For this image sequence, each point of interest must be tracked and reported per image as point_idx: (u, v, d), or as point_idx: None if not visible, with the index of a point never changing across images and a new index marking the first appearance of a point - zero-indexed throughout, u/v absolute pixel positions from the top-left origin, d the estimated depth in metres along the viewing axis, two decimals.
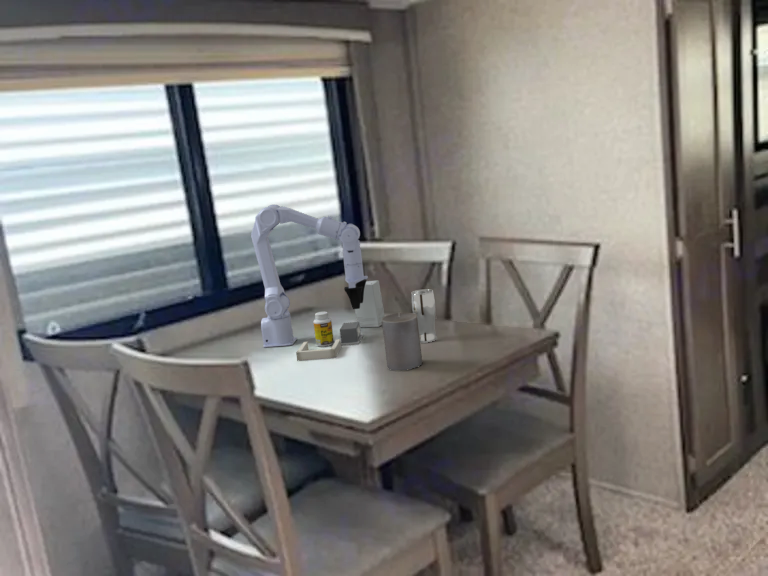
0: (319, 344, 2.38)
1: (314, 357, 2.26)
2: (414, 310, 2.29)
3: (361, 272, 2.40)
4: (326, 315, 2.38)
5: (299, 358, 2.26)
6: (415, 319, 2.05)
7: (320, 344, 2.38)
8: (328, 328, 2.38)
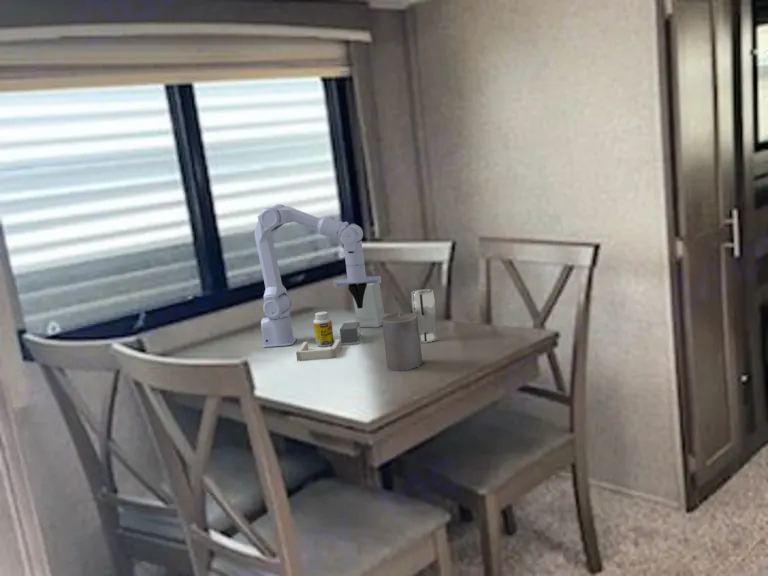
0: (319, 344, 2.38)
1: (314, 357, 2.26)
2: (414, 310, 2.29)
3: None
4: (326, 315, 2.38)
5: (299, 358, 2.26)
6: (415, 319, 2.05)
7: (320, 344, 2.38)
8: (328, 328, 2.38)
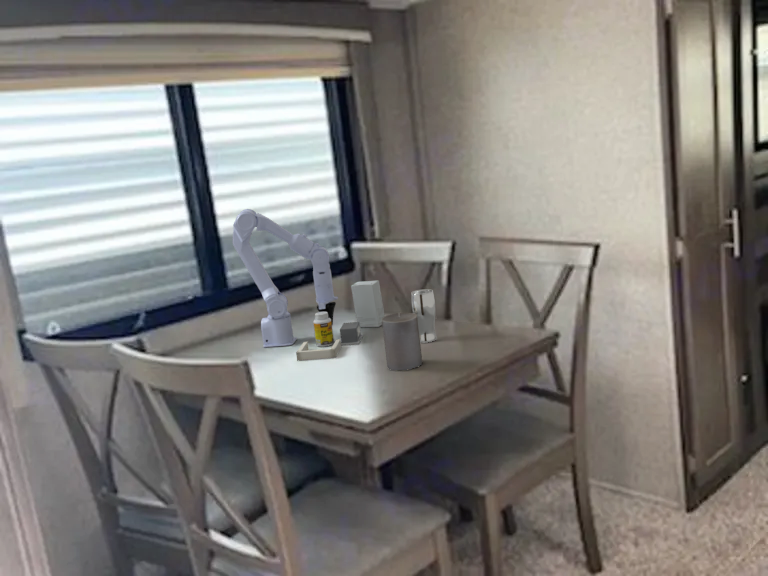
0: (319, 344, 2.38)
1: (314, 357, 2.26)
2: (414, 310, 2.29)
3: (331, 293, 2.45)
4: (326, 315, 2.38)
5: (299, 358, 2.26)
6: (415, 319, 2.05)
7: (320, 344, 2.38)
8: (328, 328, 2.38)
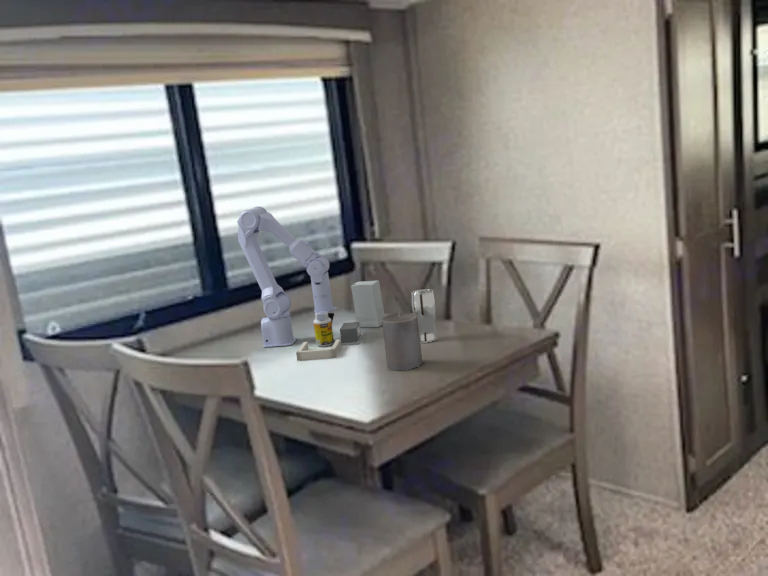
0: (319, 344, 2.38)
1: (314, 357, 2.26)
2: (414, 310, 2.29)
3: (330, 303, 2.41)
4: (326, 315, 2.37)
5: (299, 358, 2.26)
6: (415, 319, 2.05)
7: (320, 344, 2.38)
8: (328, 328, 2.37)
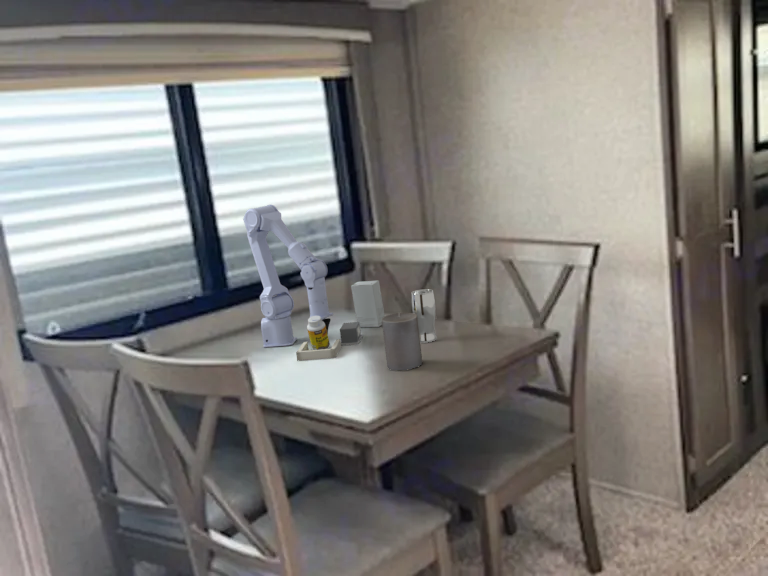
0: (315, 349, 2.33)
1: (314, 357, 2.26)
2: (414, 310, 2.29)
3: (326, 309, 2.34)
4: (319, 321, 2.29)
5: (299, 358, 2.26)
6: (415, 319, 2.05)
7: (316, 349, 2.32)
8: (323, 333, 2.30)
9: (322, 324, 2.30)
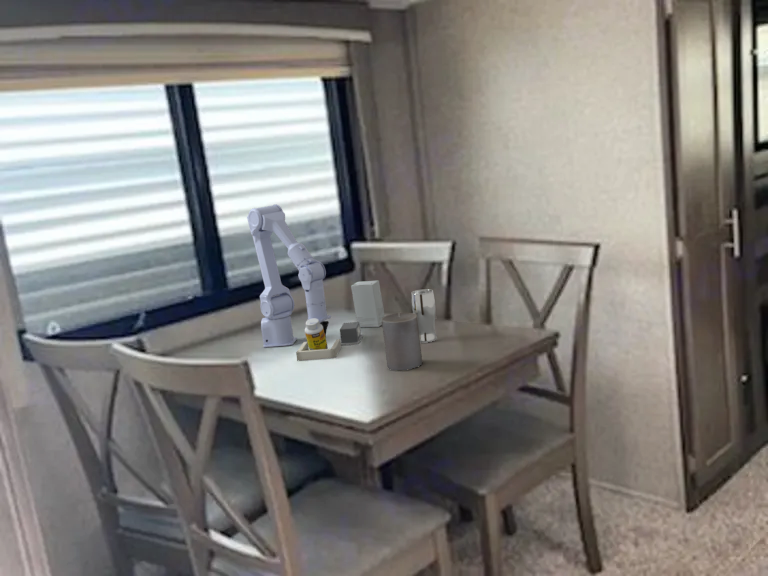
0: None
1: (314, 357, 2.26)
2: (414, 310, 2.29)
3: (324, 312, 2.31)
4: (317, 324, 2.26)
5: (299, 358, 2.26)
6: (415, 319, 2.05)
7: None
8: (321, 337, 2.27)
9: (320, 327, 2.27)
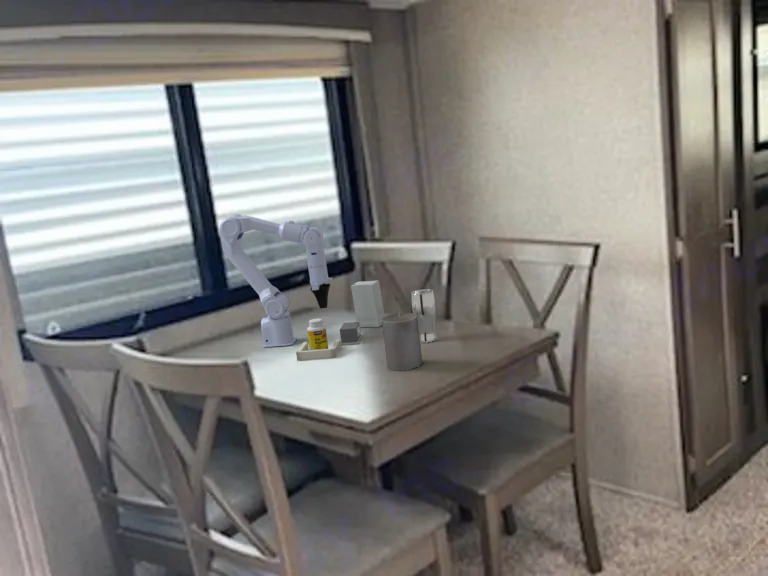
0: None
1: (314, 357, 2.26)
2: (414, 310, 2.29)
3: (325, 274, 2.41)
4: (320, 322, 2.29)
5: (299, 358, 2.26)
6: (415, 319, 2.05)
7: None
8: (323, 335, 2.29)
9: (323, 326, 2.30)
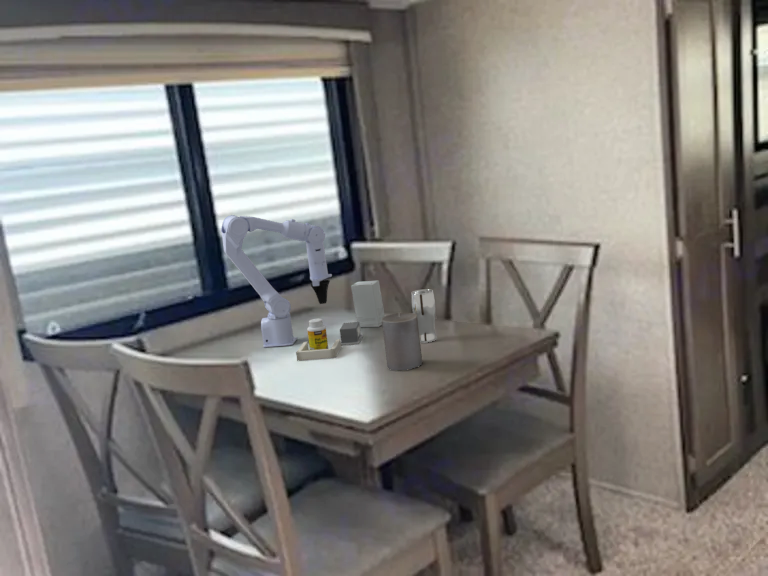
0: None
1: (314, 357, 2.26)
2: (414, 310, 2.29)
3: (325, 270, 2.48)
4: (320, 322, 2.29)
5: (299, 358, 2.26)
6: (415, 319, 2.05)
7: None
8: (323, 335, 2.29)
9: (323, 326, 2.30)
